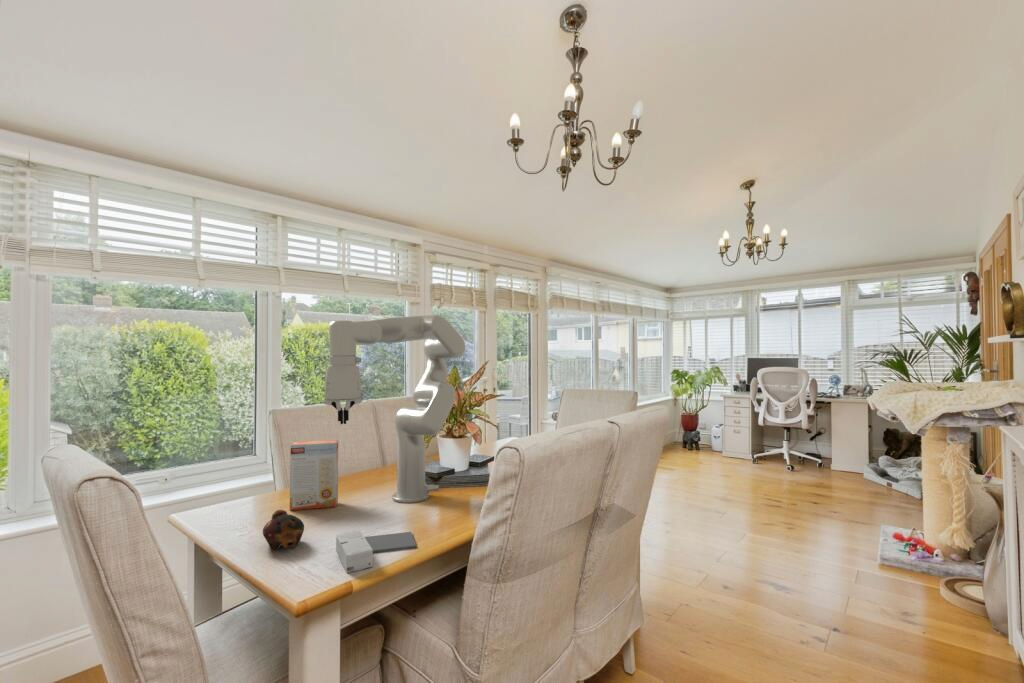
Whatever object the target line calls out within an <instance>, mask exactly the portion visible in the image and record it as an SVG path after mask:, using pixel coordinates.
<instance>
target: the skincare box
mask: <svg viewBox="0 0 1024 683" xmlns="http://www.w3.org/2000/svg"><path fill="white" fill-rule="evenodd" d="M365 537H366V536H365V535H364V534H363V533H362V531H361V530H360V529H359V530H358V529H357V530H351V531H347V532H341V533H339V534H336V536H335V538H336V539H335V542H336V543H335V553H336V554H337V556H338V558H339V560H340V561H341V562H340V563H341V564H342V567H343V568H344V570H345V572H346V573H348V574H349V573H352V572H355V571H356V572H357V571H362V570H364V569H368V568H372V567H373V557H374V556H373V555H374V553H373V549H372V548H371V546H370V545H369V543H368V542H367V540H366V539H365Z"/></svg>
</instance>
